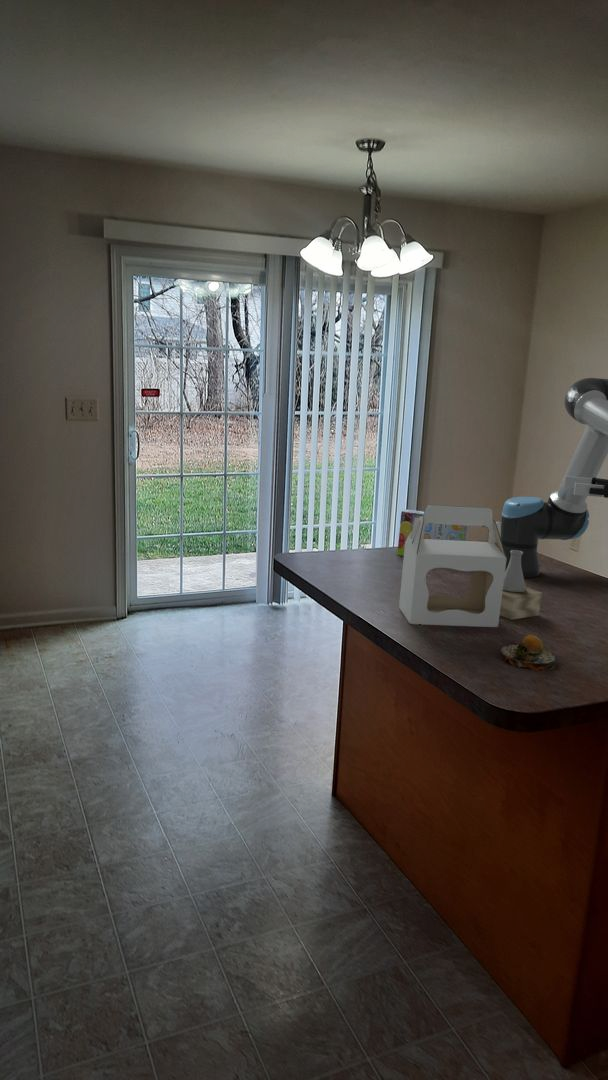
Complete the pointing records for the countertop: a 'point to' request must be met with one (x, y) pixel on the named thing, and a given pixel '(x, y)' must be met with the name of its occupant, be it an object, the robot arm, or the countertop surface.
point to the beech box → (520, 604)
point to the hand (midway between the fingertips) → (569, 485)
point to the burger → (528, 654)
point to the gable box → (459, 556)
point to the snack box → (428, 530)
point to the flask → (514, 574)
